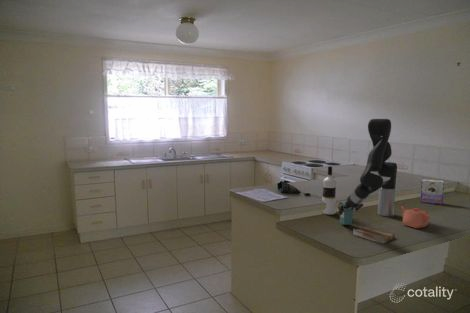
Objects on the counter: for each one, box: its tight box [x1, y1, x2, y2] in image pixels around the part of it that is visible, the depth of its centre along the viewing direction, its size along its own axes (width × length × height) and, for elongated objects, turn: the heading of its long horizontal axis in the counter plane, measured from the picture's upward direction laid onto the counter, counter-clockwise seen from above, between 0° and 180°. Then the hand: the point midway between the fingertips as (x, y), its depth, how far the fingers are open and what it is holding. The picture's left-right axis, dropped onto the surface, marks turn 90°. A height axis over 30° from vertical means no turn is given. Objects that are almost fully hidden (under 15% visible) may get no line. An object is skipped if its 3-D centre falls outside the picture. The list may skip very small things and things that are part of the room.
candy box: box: [419, 178, 445, 206], centre depth 245 cm, size 14×6×16 cm, turn 58°
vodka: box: [321, 166, 337, 216], centre depth 217 cm, size 9×9×30 cm
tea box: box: [339, 200, 354, 226], centre depth 194 cm, size 5×5×12 cm
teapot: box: [400, 205, 431, 229], centre depth 195 cm, size 12×18×10 cm, turn 29°
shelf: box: [352, 225, 396, 244], centre depth 177 cm, size 13×16×3 cm
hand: (344, 213), depth 196 cm, fingers closed on tea box, 5 cm apart
